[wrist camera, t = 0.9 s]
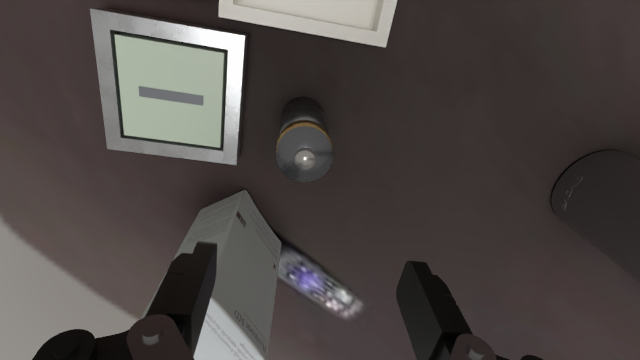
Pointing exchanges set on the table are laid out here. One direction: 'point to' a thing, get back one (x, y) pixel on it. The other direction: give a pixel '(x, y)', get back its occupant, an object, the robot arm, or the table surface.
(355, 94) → the table surface
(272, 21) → the trough
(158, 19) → the grey square slotted tray
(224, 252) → the skincare box
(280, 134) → the cell
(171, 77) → the plate
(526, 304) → the table surface
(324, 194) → the table surface
